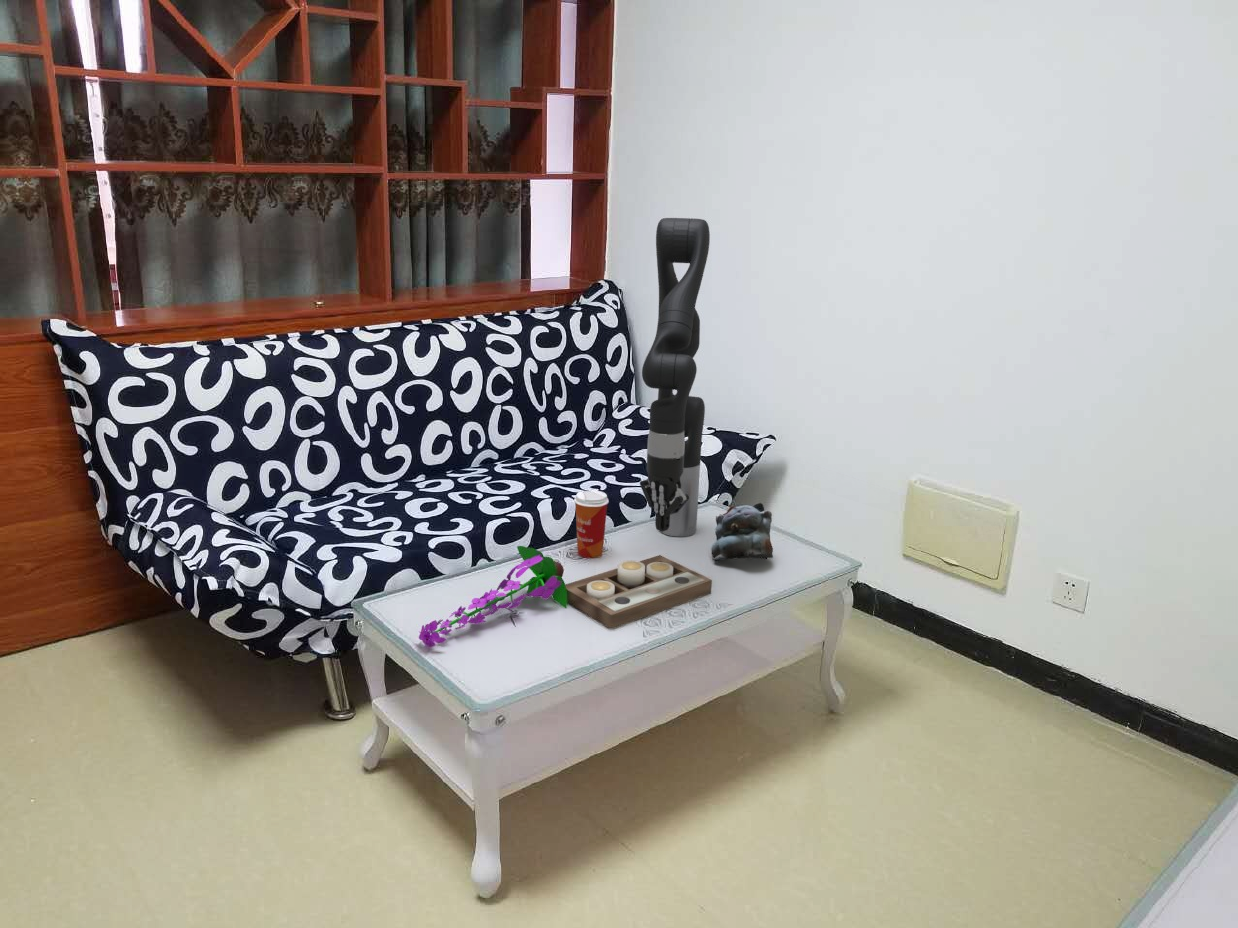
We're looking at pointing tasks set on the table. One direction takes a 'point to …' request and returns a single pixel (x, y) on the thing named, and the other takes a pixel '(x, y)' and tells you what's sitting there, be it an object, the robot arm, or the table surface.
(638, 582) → the button mid
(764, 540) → the lucky cat figurine
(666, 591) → the wooden candle tray
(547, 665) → the table surface
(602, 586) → the button
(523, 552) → the purple flower sprig
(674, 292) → the robot arm
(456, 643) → the table surface
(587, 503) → the paper cup
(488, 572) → the table surface
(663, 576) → the button
